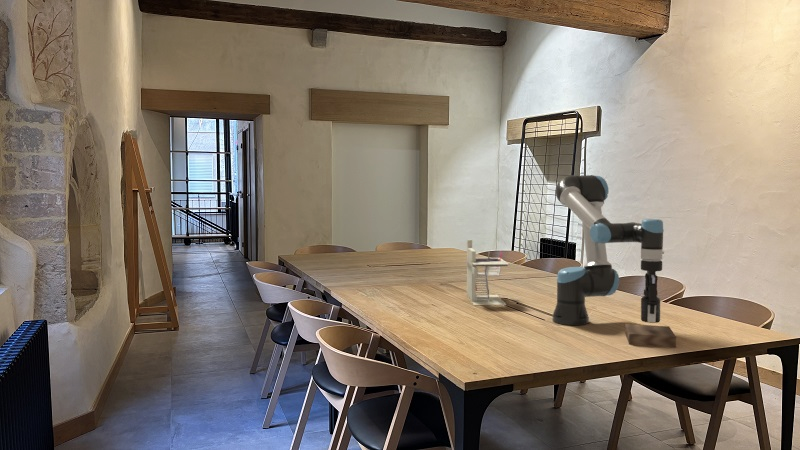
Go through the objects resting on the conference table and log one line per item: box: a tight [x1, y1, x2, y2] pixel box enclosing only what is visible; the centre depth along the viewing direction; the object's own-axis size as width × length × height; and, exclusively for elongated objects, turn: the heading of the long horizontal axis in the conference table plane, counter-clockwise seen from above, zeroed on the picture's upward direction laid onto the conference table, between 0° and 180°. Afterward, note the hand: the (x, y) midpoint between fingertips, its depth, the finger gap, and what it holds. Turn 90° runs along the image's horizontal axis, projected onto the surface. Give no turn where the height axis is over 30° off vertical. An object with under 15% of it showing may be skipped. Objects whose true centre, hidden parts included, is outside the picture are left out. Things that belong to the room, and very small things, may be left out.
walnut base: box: [624, 323, 677, 348], centre depth 225 cm, size 16×16×4 cm
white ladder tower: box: [466, 239, 510, 306], centre depth 303 cm, size 27×18×30 cm
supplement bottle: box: [640, 288, 661, 324], centre depth 224 cm, size 7×7×12 cm
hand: (650, 319), depth 224 cm, fingers closed on supplement bottle, 7 cm apart
